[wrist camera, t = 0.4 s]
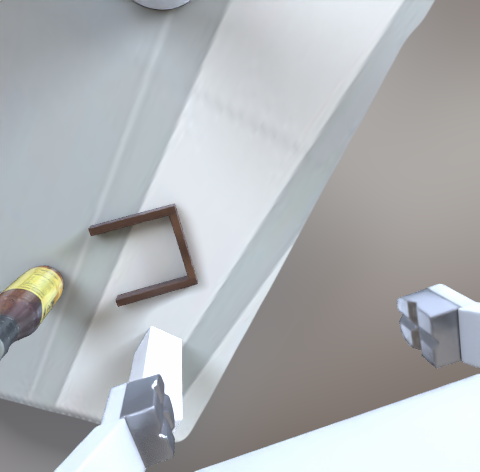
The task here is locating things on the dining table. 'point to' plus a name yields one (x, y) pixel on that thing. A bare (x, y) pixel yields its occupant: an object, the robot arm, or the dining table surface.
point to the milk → (161, 365)
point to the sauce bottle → (27, 304)
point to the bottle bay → (182, 244)
